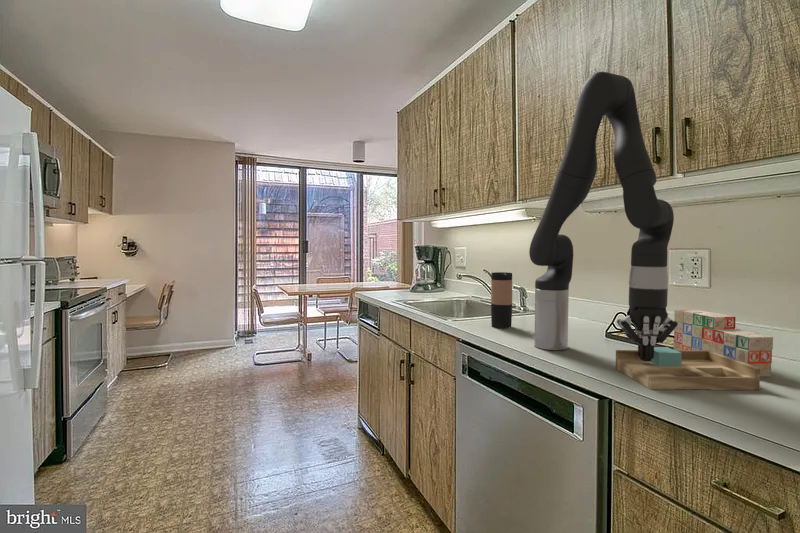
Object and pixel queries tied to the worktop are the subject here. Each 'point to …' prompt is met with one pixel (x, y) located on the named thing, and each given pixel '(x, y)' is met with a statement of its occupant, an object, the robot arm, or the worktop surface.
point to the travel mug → (501, 300)
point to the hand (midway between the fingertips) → (645, 360)
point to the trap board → (690, 371)
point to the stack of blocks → (722, 338)
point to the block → (666, 357)
